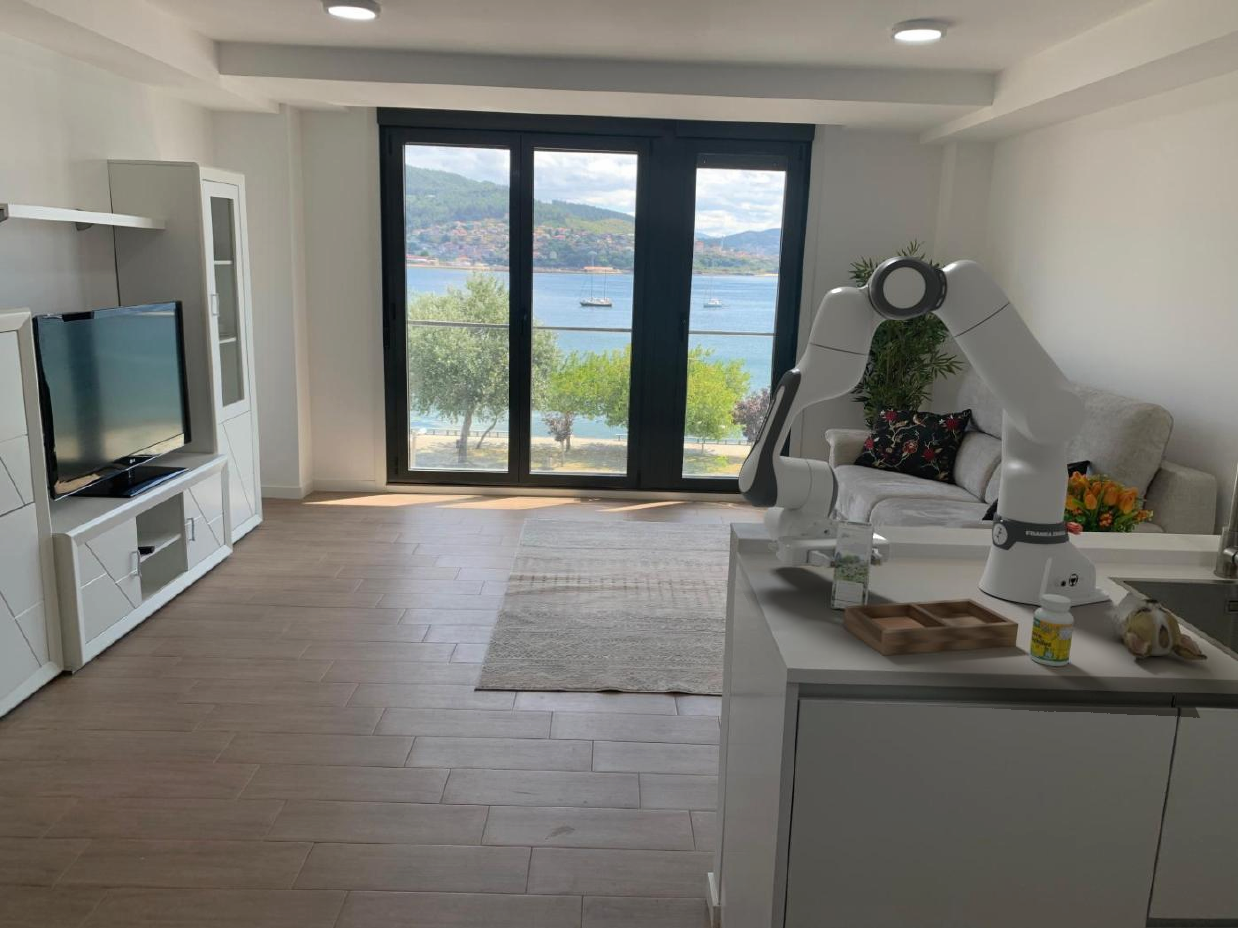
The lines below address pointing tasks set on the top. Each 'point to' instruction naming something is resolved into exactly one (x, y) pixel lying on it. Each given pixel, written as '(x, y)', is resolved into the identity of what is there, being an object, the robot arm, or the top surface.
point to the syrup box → (852, 564)
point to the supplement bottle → (1052, 631)
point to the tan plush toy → (1151, 630)
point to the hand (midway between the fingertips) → (855, 562)
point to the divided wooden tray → (929, 626)
